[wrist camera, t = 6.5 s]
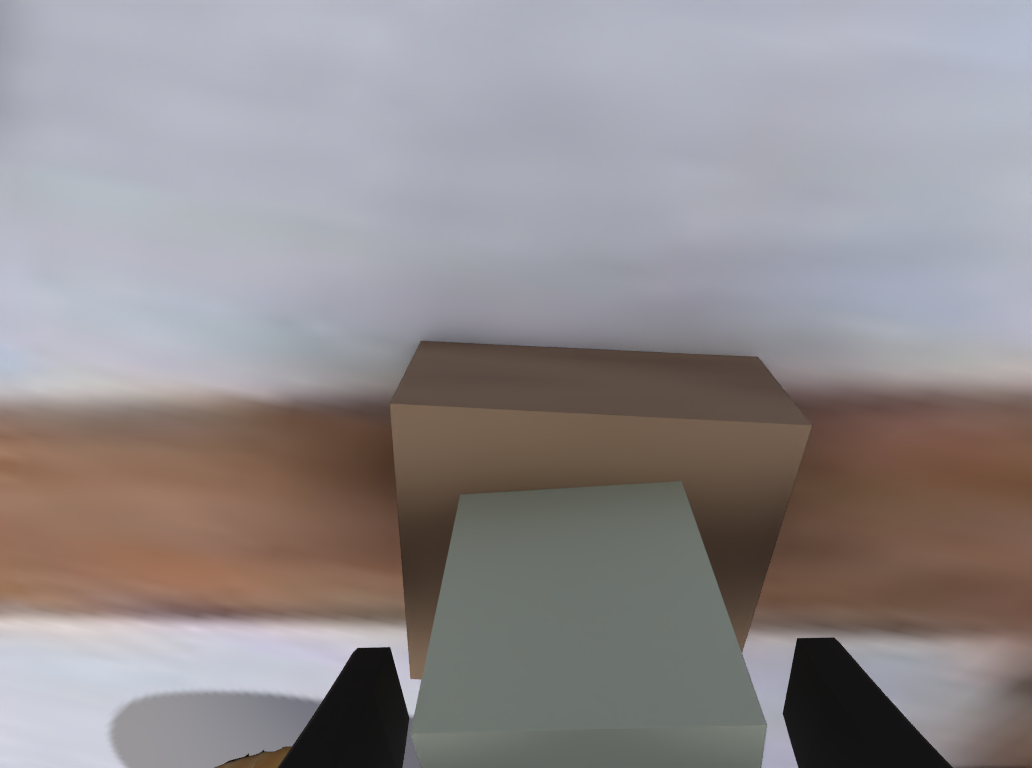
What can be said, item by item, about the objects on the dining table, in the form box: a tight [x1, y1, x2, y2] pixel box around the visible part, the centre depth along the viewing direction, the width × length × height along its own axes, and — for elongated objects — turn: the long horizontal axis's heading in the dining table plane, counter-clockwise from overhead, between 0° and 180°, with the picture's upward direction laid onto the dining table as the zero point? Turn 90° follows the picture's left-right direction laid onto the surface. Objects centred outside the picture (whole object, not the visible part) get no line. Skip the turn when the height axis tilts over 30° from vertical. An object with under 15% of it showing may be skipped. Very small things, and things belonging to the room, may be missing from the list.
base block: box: [390, 341, 812, 679], centre depth 14 cm, size 8×8×4 cm
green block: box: [411, 481, 767, 768], centre depth 11 cm, size 4×4×5 cm
